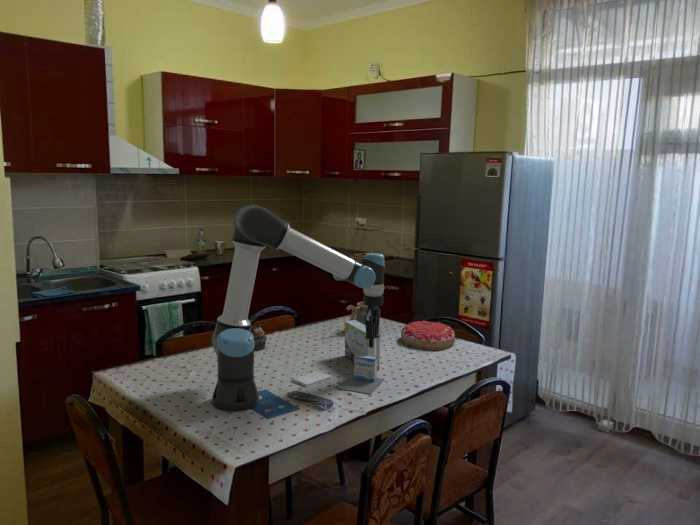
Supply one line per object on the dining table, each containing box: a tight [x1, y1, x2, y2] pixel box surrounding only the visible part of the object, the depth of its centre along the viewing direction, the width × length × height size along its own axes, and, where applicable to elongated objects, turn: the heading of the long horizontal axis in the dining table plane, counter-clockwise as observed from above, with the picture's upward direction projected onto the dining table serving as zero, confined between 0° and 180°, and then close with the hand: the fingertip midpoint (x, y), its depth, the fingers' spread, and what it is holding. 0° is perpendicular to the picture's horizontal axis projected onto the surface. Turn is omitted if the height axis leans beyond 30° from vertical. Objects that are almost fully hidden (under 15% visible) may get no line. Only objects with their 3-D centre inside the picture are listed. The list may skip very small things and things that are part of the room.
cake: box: [400, 320, 456, 351], centre depth 259 cm, size 25×25×8 cm
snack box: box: [344, 320, 381, 370], centre depth 226 cm, size 21×6×15 cm, turn 27°
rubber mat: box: [335, 373, 385, 395], centre depth 203 cm, size 16×13×1 cm
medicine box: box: [353, 354, 378, 382], centre depth 207 cm, size 8×4×9 cm, turn 76°
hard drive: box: [291, 370, 332, 388], centre depth 206 cm, size 2×8×12 cm
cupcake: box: [249, 324, 267, 352], centre depth 241 cm, size 10×10×10 cm
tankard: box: [345, 301, 381, 333], centre depth 270 cm, size 20×13×15 cm, turn 130°
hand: (371, 354), depth 213 cm, fingers closed
